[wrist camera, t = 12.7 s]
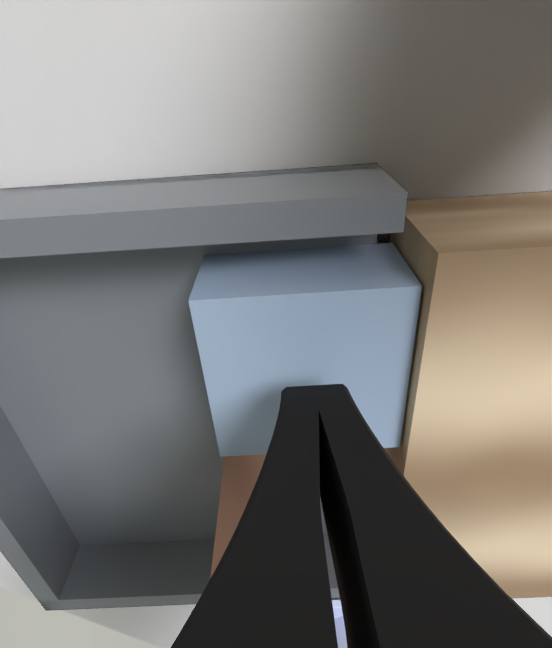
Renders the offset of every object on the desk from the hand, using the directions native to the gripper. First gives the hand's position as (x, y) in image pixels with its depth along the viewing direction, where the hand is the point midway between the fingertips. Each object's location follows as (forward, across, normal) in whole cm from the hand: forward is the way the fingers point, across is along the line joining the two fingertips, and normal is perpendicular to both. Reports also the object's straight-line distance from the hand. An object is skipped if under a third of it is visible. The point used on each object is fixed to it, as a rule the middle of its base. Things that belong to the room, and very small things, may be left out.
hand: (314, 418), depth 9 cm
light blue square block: (+4, 0, 0) cm, 4 cm away
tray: (+4, +4, +4) cm, 7 cm away
